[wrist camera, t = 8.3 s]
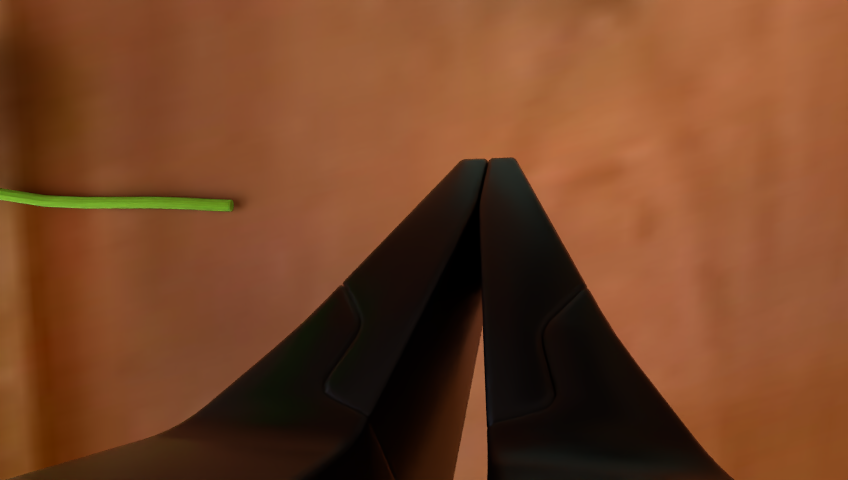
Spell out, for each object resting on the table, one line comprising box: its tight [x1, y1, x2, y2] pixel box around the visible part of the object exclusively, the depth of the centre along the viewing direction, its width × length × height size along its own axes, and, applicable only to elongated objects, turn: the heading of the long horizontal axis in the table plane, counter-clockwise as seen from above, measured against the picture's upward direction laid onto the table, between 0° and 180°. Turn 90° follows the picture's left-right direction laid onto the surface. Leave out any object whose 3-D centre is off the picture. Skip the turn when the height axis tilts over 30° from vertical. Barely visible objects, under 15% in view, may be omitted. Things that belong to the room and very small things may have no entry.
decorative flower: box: [0, 188, 234, 211], centre depth 20 cm, size 8×6×15 cm
